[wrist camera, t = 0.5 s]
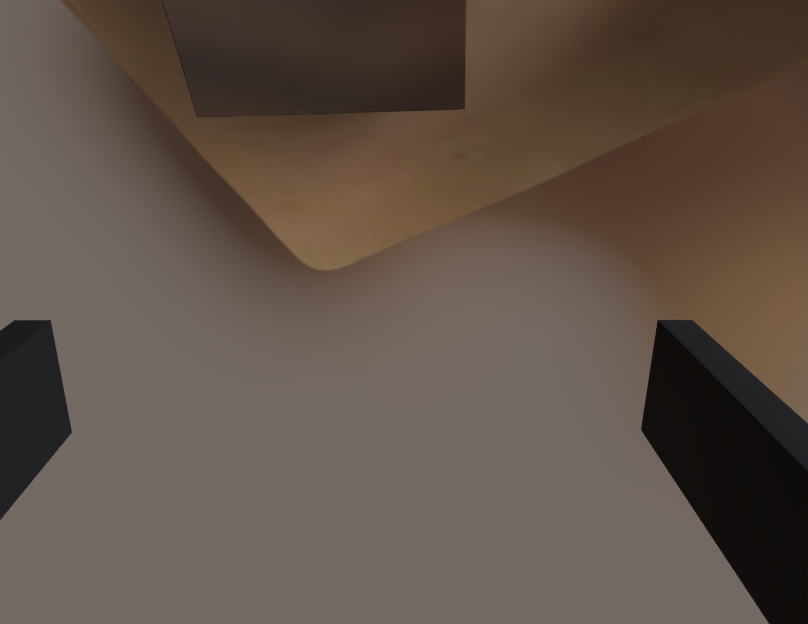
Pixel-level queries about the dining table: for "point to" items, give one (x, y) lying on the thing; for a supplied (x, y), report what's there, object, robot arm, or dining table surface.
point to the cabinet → (320, 55)
